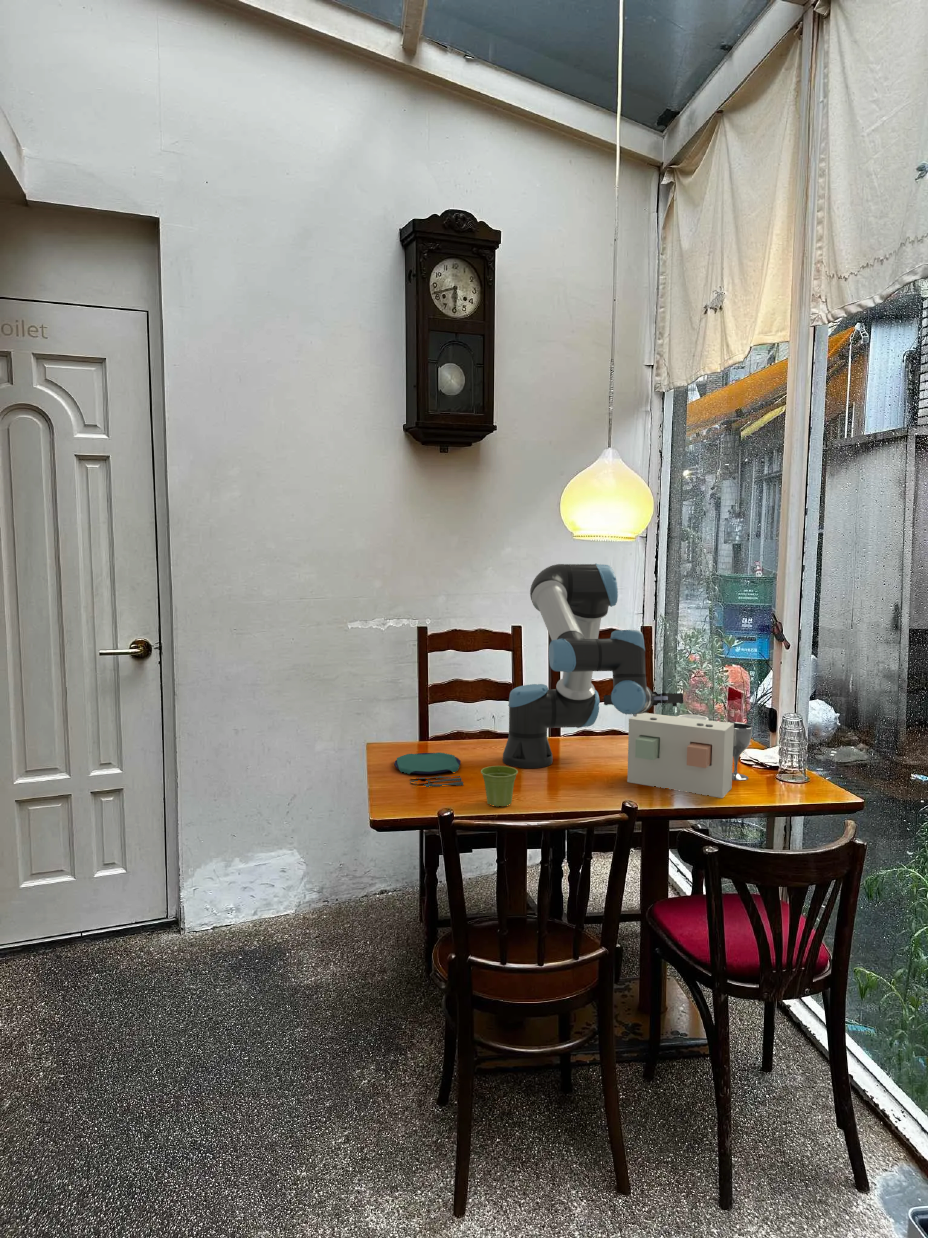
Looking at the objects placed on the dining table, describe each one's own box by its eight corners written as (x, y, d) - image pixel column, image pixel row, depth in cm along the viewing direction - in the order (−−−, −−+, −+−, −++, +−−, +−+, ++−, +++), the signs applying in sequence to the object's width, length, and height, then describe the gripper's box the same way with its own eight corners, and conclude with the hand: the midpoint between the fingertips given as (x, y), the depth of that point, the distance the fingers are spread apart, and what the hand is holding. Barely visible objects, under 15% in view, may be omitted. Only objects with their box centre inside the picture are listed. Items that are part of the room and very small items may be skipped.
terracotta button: (705, 768, 202) (706, 749, 201) (686, 765, 205) (687, 746, 204) (711, 762, 207) (712, 744, 206) (693, 760, 210) (693, 741, 209)
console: (722, 798, 204) (724, 729, 202) (627, 782, 218) (628, 717, 216) (731, 788, 213) (734, 722, 211) (639, 773, 226) (641, 711, 225)
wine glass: (715, 776, 224) (717, 724, 222) (730, 771, 229) (732, 721, 228) (740, 782, 218) (742, 730, 216) (755, 777, 223) (757, 725, 221)
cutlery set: (456, 757, 243) (456, 750, 243) (470, 788, 214) (470, 780, 214) (392, 760, 241) (392, 753, 240) (398, 792, 211) (398, 784, 211)
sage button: (653, 760, 209) (653, 741, 209) (635, 757, 212) (635, 739, 211) (660, 755, 214) (660, 737, 214) (642, 752, 217) (643, 734, 217)
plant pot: (496, 812, 192) (496, 778, 192) (473, 802, 200) (473, 769, 199) (525, 805, 198) (525, 772, 197) (501, 795, 206) (502, 763, 205)
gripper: (585, 714, 193) (600, 714, 213) (689, 713, 185) (695, 712, 205) (584, 684, 194) (599, 687, 214) (688, 681, 186) (694, 684, 205)
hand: (646, 699), depth 209 cm, fingers open, 13 cm apart
